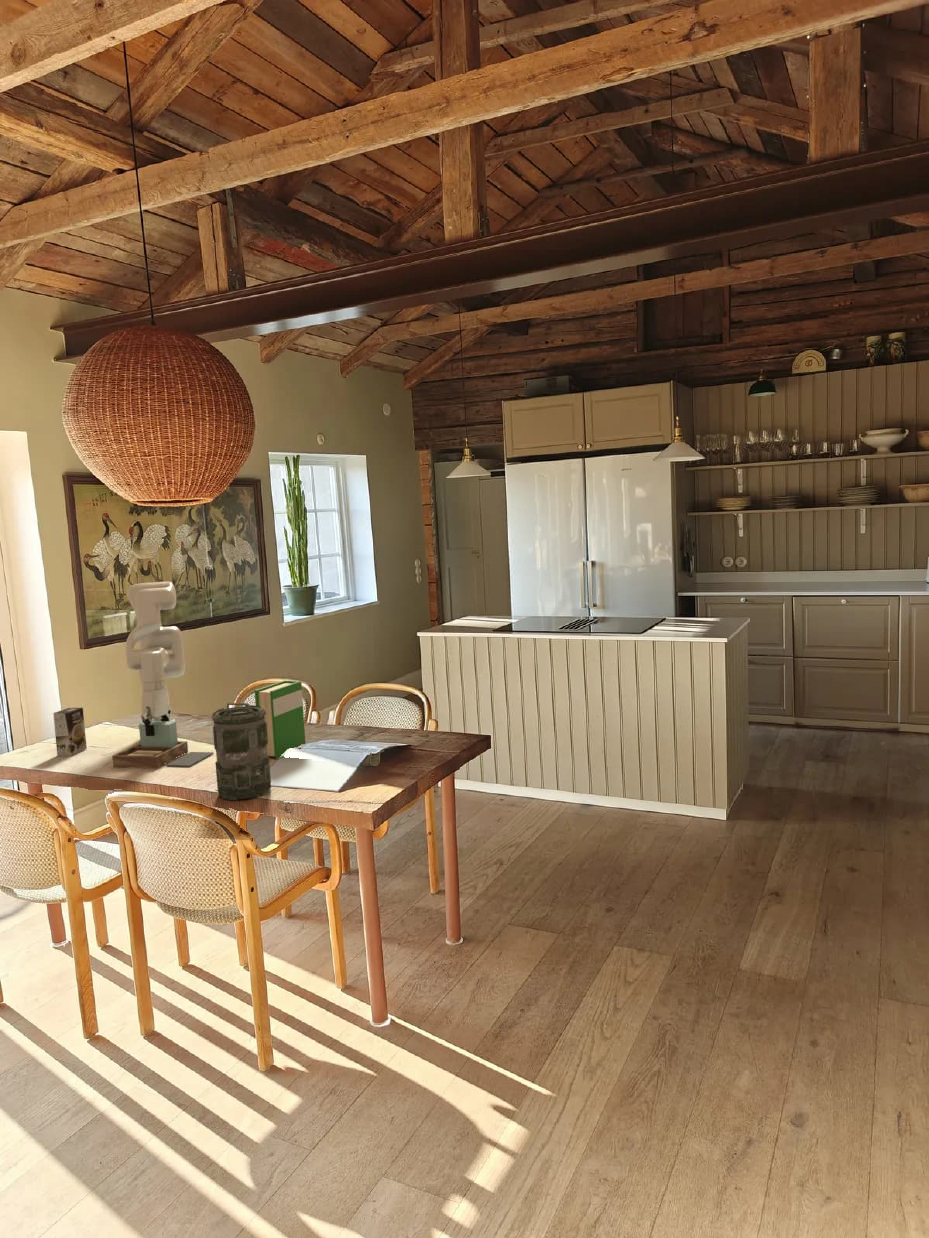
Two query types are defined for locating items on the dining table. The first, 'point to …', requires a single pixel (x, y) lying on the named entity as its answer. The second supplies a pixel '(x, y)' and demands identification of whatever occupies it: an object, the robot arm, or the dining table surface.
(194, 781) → the dining table surface
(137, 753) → the offcut upper
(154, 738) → the pale green square slab
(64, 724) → the coffee box
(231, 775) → the canister
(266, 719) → the hardback book
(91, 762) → the dining table surface
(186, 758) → the mat
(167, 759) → the rack
